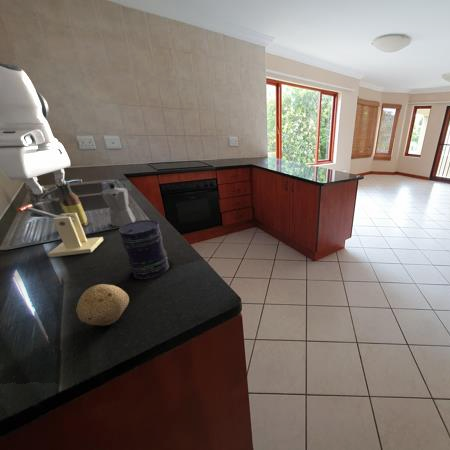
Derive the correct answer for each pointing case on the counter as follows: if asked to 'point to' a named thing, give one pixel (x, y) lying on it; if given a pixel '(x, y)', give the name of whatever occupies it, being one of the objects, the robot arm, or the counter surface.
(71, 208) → the sauce bottle
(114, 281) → the counter surface
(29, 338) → the counter surface
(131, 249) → the storage jar
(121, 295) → the potato
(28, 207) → the lever
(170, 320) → the counter surface
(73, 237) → the bracket
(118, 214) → the coffeepot
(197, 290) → the counter surface
